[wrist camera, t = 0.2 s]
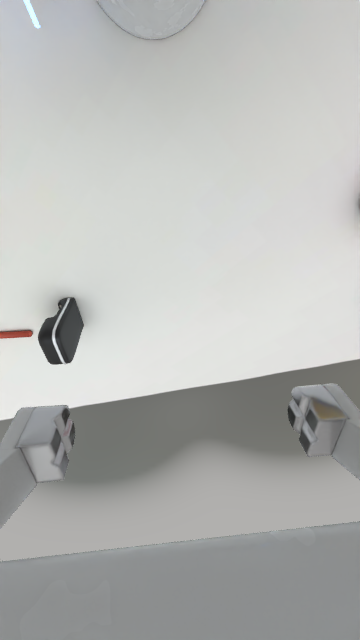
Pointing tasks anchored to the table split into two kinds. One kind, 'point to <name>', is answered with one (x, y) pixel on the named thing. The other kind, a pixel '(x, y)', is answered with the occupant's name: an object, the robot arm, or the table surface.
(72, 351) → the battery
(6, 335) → the spoon
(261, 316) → the table surface
